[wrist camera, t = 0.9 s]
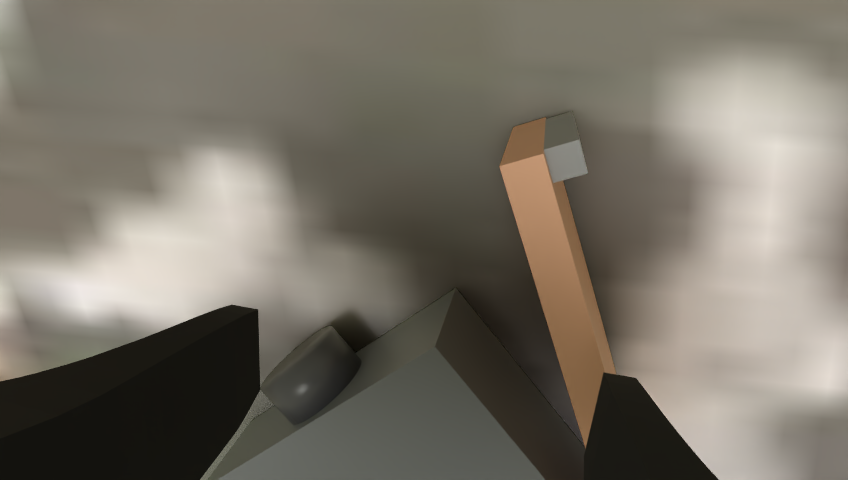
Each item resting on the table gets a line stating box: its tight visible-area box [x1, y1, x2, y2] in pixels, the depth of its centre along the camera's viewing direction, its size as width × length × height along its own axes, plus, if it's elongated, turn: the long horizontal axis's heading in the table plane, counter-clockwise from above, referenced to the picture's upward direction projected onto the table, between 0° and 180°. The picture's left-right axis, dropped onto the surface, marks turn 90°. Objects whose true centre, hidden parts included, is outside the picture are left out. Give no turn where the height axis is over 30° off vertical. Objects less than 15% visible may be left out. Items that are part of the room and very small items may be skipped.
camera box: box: [208, 288, 585, 480], centre depth 21 cm, size 12×11×4 cm
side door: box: [499, 111, 617, 449], centre depth 17 cm, size 14×2×5 cm, turn 19°
